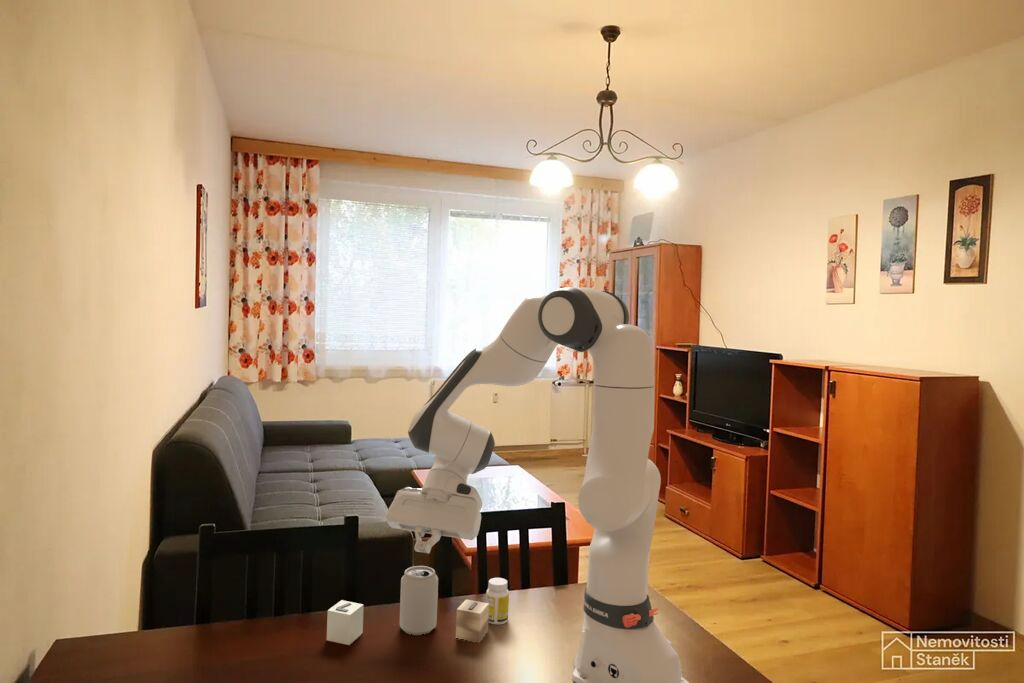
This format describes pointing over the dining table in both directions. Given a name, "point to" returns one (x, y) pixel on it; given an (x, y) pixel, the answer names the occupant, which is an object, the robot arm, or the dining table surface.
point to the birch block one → (472, 620)
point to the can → (418, 600)
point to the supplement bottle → (497, 601)
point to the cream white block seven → (345, 622)
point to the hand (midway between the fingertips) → (421, 551)
